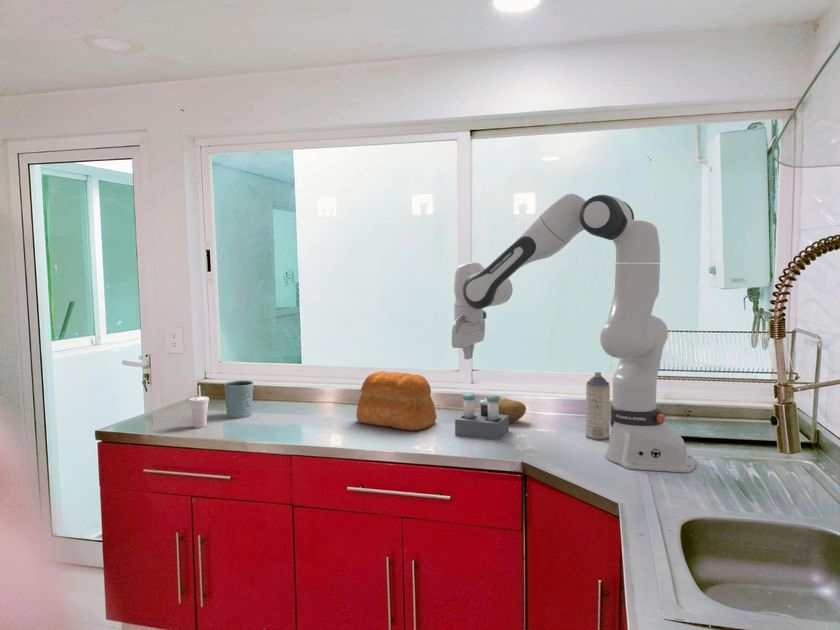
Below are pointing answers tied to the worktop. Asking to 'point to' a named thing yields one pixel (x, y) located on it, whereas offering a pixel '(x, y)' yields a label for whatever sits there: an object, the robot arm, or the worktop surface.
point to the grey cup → (239, 399)
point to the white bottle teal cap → (493, 407)
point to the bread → (396, 401)
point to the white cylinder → (468, 405)
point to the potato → (511, 409)
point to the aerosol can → (597, 408)
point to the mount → (482, 424)
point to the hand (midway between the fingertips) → (468, 358)
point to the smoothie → (199, 410)
